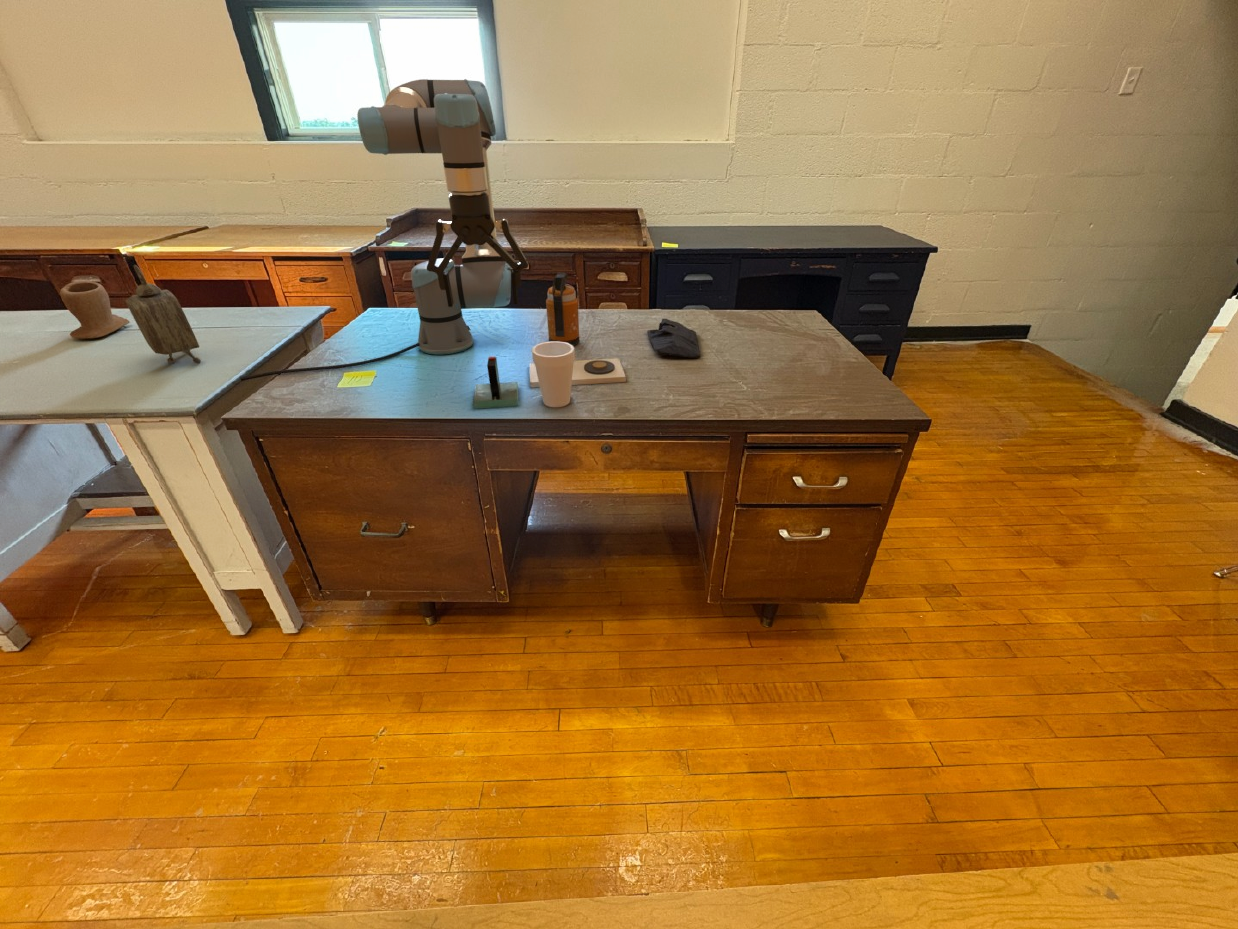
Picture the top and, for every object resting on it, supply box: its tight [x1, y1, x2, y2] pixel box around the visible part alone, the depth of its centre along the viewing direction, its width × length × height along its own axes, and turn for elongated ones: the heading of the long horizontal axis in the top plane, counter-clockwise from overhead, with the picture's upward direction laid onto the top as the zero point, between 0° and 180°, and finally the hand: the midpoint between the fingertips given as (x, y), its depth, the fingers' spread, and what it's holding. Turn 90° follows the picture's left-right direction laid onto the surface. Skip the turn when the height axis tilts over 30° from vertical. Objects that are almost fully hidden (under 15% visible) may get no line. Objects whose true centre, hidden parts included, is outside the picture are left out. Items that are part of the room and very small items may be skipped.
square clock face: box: [472, 381, 519, 410], centre depth 124 cm, size 10×9×2 cm
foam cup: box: [531, 341, 576, 408], centre depth 120 cm, size 10×9×13 cm
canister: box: [545, 272, 580, 346], centre depth 148 cm, size 9×11×20 cm
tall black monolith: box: [486, 356, 501, 396], centre depth 121 cm, size 5×2×8 cm, turn 8°
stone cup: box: [59, 280, 131, 339], centre depth 155 cm, size 15×12×15 cm
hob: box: [529, 357, 627, 388], centre depth 135 cm, size 24×12×3 cm, turn 99°
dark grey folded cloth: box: [646, 318, 701, 359], centre depth 152 cm, size 15×22×5 cm
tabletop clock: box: [125, 264, 202, 364], centre depth 135 cm, size 14×9×25 cm, turn 47°
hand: (483, 303), depth 111 cm, fingers open, 13 cm apart
